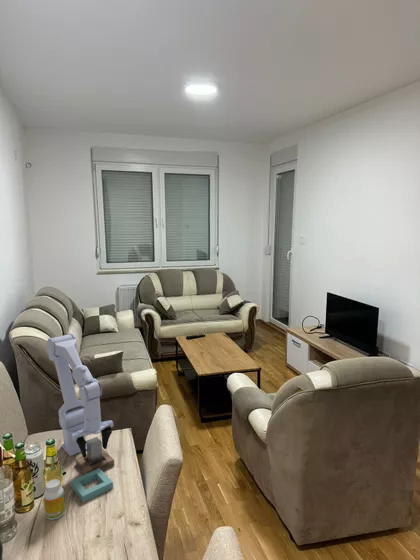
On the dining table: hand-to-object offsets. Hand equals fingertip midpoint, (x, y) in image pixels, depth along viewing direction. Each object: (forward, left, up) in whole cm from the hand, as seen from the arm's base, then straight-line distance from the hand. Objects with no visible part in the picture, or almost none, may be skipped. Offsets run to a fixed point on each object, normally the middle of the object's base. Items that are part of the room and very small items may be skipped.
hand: (94, 452), depth 135 cm
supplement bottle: (+15, -19, -5) cm, 25 cm away
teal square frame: (+11, -6, -5) cm, 13 cm away
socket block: (0, 0, -5) cm, 5 cm away
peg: (0, 0, -5) cm, 5 cm away
